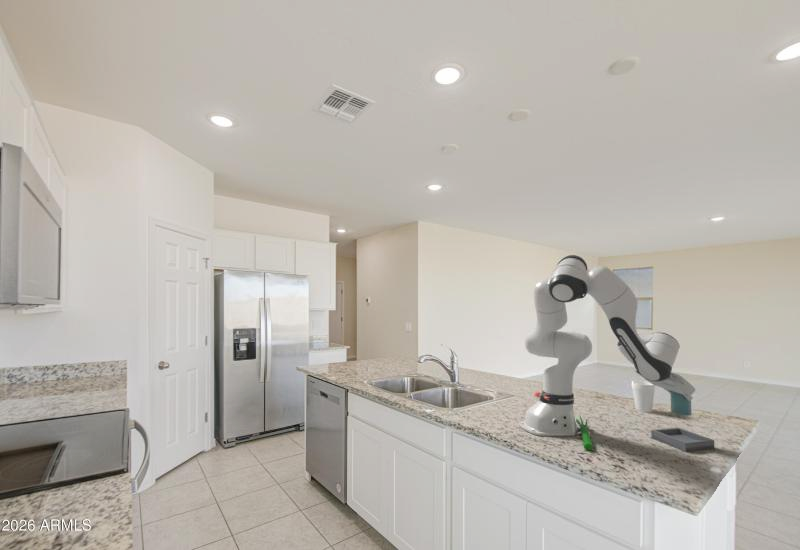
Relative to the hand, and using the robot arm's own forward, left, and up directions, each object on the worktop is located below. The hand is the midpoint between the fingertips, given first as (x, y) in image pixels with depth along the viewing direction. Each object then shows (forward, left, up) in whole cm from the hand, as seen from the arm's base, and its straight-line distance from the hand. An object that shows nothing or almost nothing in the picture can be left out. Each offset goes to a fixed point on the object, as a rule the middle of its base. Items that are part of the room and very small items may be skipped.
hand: (682, 396), depth 134 cm
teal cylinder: (-1, 0, -6) cm, 6 cm away
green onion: (-31, +14, -17) cm, 38 cm away
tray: (0, 0, -17) cm, 17 cm away
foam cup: (+21, +36, -17) cm, 45 cm away
